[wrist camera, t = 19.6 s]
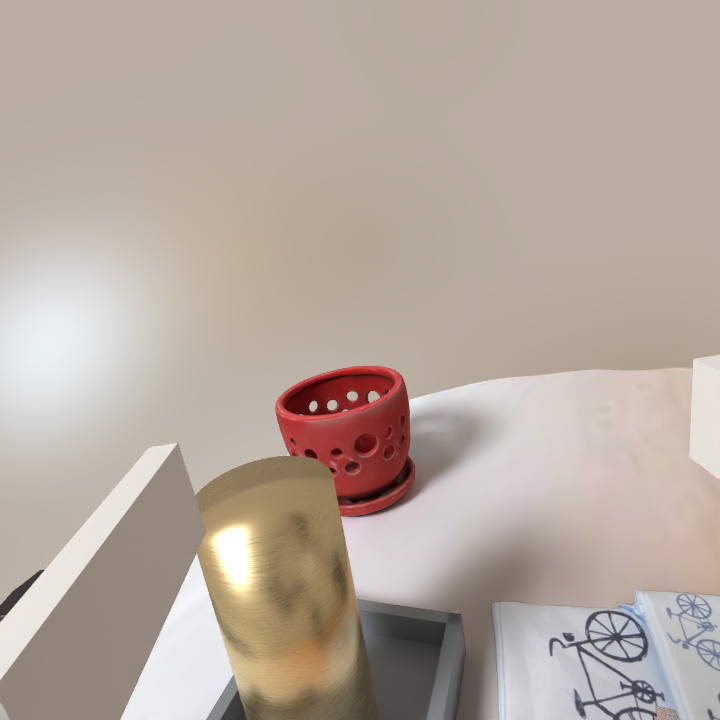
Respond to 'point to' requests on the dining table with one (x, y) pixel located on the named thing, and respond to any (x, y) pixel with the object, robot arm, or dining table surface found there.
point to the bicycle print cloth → (609, 659)
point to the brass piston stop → (285, 591)
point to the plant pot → (353, 434)
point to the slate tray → (398, 664)
